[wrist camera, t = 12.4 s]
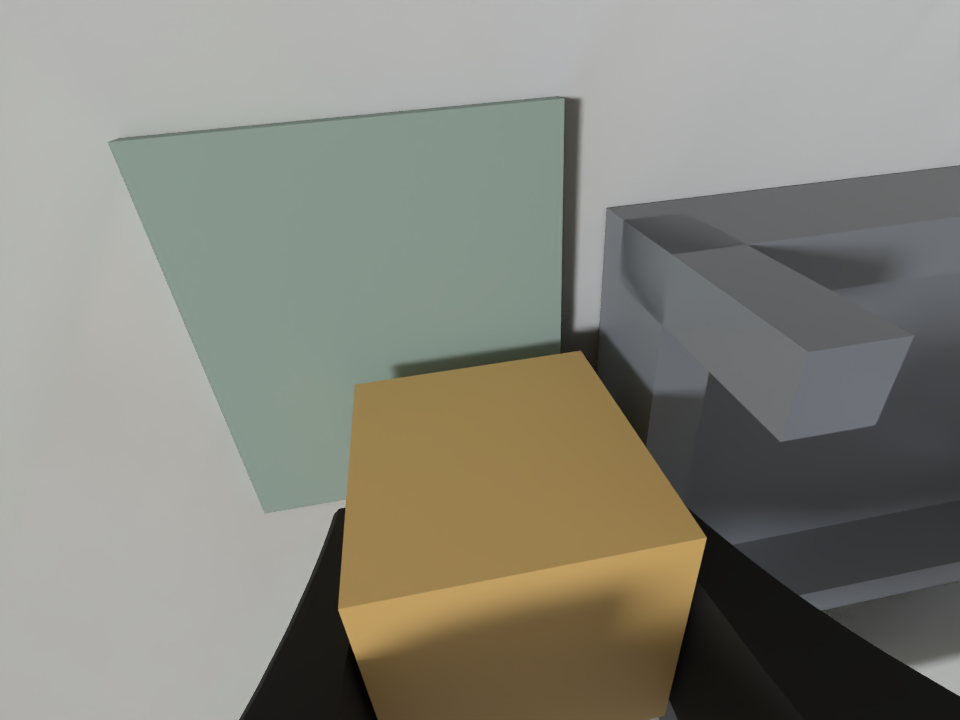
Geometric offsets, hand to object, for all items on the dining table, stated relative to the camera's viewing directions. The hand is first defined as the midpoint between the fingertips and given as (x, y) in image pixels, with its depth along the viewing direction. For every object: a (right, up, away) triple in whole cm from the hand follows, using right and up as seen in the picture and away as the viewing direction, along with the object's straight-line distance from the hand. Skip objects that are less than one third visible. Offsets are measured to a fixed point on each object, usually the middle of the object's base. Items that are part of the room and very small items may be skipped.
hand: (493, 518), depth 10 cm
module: (0, +1, +1) cm, 2 cm away
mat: (-2, +4, 0) cm, 4 cm away
